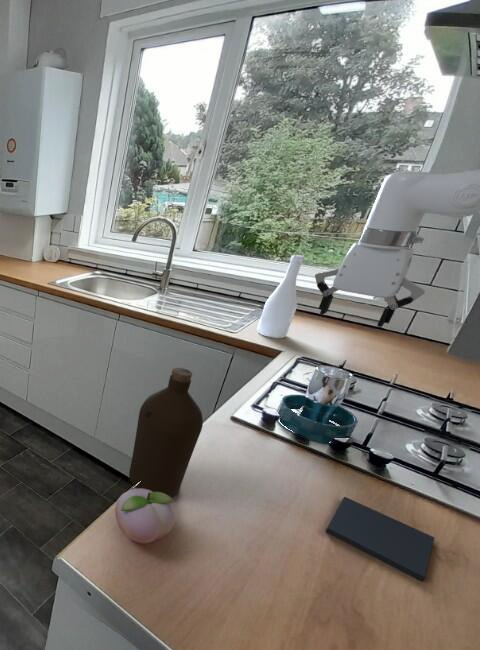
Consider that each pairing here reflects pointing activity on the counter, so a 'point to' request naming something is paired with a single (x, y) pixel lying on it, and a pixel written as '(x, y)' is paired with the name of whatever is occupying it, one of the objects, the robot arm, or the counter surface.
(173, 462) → the olive oil
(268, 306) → the wine bottle
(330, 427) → the pan
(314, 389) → the beer glass
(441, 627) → the counter surface
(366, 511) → the mat
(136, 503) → the decorative fruit
